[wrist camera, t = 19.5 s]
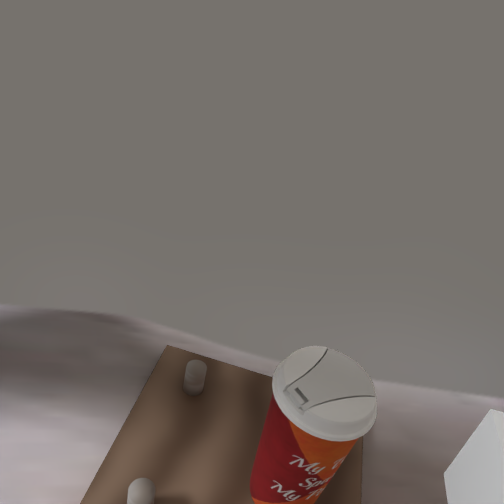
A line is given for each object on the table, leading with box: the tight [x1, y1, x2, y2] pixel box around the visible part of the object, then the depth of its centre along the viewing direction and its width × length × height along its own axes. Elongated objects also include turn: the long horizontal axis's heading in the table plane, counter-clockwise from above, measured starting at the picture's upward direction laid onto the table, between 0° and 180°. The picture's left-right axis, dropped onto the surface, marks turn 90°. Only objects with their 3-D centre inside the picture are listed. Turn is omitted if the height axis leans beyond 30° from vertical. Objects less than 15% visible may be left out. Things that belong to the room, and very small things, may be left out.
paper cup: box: [250, 346, 377, 504], centre depth 37 cm, size 8×8×14 cm
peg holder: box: [80, 345, 363, 504], centre depth 42 cm, size 22×22×4 cm
